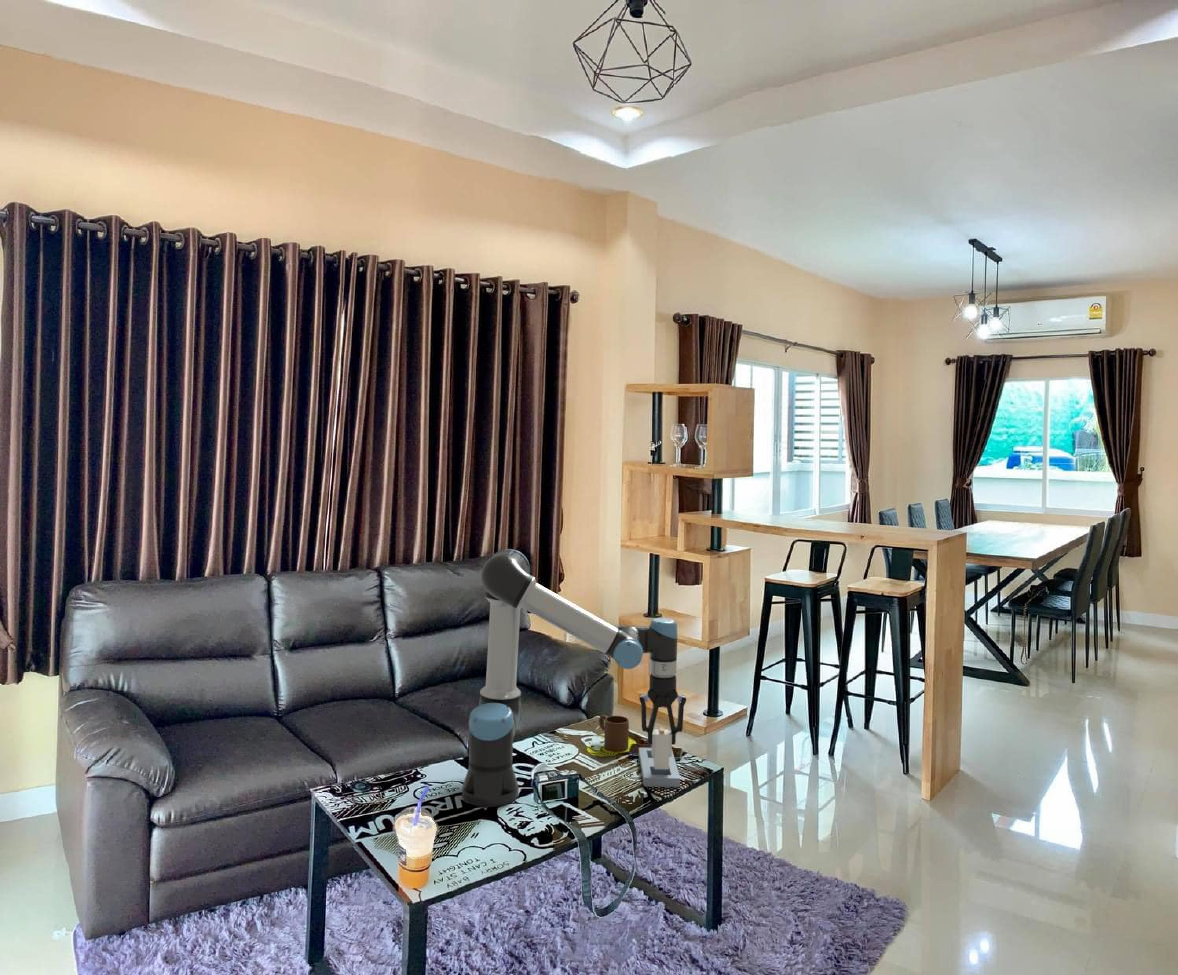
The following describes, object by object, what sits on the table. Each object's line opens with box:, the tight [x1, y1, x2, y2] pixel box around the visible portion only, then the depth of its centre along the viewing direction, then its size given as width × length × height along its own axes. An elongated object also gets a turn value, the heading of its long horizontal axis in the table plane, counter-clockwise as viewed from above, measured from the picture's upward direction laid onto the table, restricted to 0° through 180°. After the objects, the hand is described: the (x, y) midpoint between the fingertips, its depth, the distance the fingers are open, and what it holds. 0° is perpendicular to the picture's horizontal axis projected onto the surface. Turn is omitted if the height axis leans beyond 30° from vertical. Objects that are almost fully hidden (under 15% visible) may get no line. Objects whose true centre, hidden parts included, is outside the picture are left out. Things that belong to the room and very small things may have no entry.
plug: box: [653, 726, 670, 769], centre depth 229 cm, size 4×4×11 cm
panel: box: [638, 747, 681, 788], centre depth 236 cm, size 10×22×3 cm, turn 0°
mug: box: [598, 714, 630, 753], centre depth 254 cm, size 12×8×9 cm, turn 39°
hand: (661, 754), depth 229 cm, fingers closed on plug, 4 cm apart
